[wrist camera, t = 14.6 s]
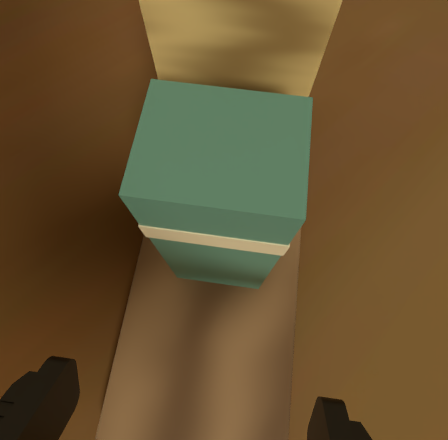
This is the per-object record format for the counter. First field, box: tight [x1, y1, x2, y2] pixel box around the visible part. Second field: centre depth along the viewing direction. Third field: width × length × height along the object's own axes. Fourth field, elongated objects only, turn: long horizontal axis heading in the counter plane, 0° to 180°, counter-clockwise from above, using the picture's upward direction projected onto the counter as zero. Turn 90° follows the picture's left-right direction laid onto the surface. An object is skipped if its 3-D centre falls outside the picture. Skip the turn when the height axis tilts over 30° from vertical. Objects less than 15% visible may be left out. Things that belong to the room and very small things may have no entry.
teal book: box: [119, 79, 313, 289], centre depth 15 cm, size 5×4×12 cm
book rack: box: [95, 0, 342, 440], centre depth 14 cm, size 10×26×18 cm, turn 172°
